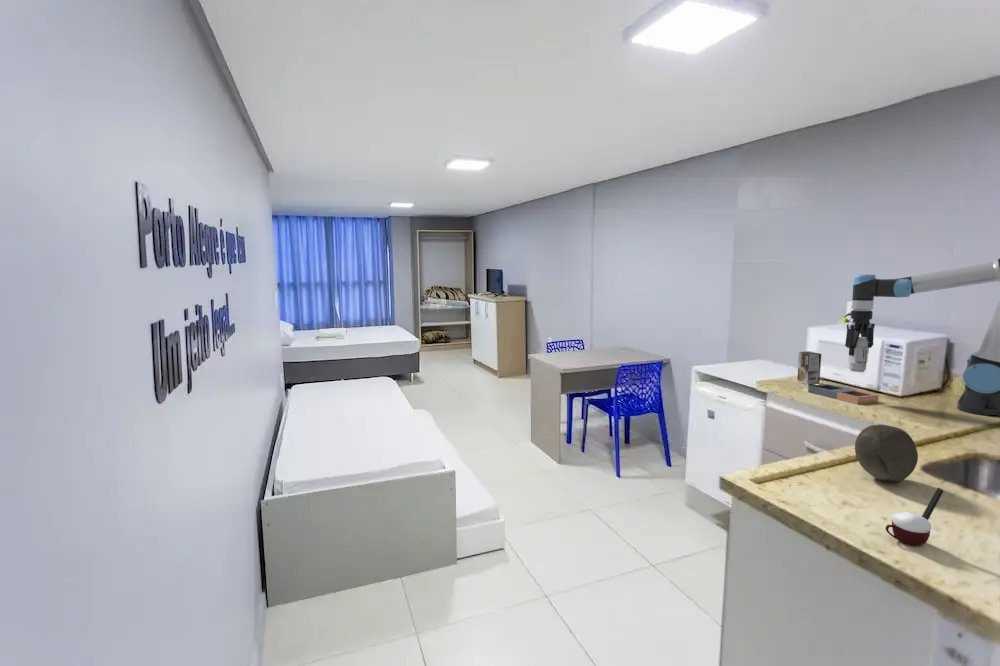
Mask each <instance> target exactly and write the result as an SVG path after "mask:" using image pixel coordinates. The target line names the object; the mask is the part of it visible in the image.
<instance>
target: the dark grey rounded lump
mask: <svg viewBox="0 0 1000 666" xmlns="http://www.w3.org/2000/svg"><path fill="white" fill-rule="evenodd" d="M854 452H855V456H856V458H857V460H858V462H859V464H860V466H861V467H862V468H863V470H865V472H867V473H868V474H869V475H870V476H872V477H873V478H875V479H877V480H879V481H882V482H886V483H897V482H901V481H904V480H906V479H907V478H908V477H909V476H911V474H912V472H914V471H915V469H916V468H917V467H916V466H917V465H918V464H917V463H918V459H919V454H918V450H917V447H916V443H915V441H914V439H913V438H912V437H911V436H910V435H909V433H908V432H906V431H905V430H903V429H902V428H899V427H896V426H892V425H887V424H872V425H871V424H870V425H868V426H867V427H865V428H864V429H862V430H861V431H860V433H858V435H857V437H856V439H855V443H854Z"/></svg>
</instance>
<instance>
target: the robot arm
mask: <svg viewBox="0 0 1000 666" xmlns="http://www.w3.org/2000/svg"><path fill="white" fill-rule="evenodd" d="M994 282H999V283H1000V258H996V259H995V260H994V261H992V262H987V263H982V264H975V265H970V266H964V267H959V268H952V269H951V268H950V269H947V270H946V269H945V270H941V271H940V270H939V271H935V272H928V273H923V274H918V275H912V276H906V277H899V278H885V279H884V278H882V279H880V278H877V277H876V275H875V274H856V275H855V276H854V278H853V284H852V299H851V301H852V303H851V309H852V310H851V311H850V312H851V313H850V319H852V322H851V323H850V324H849V323H847V324H846V336H845V337H846V338H845V343H844V344H845V345H844V346H845V348H848V363H856V355H857V349H856V344H857V341H858V338H859V337H866V338H867V340H868V350H867V361H868V358H869V357H868V356H869V350H870V349H871V348H872V347H873V346H874V331H875V330H874V329H875V326H876V324H875V323H871V321H870V320H872V319H873V314H874V313H873V311H872V310H874V302H875V301H874V298H875V297H876V298H879V297H881V298H882V297H884V298H899V299H900V298H908V297H910V296H911V295H913V294H919V293H925V292H926V293H927V292H933V291H940V290H946V289H954V288H960V287H968V286H973V285H981V284H988V283H994ZM966 362H967V363H966V368H965V370H964V371H963V373H962V380H963V382H964V390H963V392H962V394H961V396H960V397H959V399H958V401H957V405H956V408H957V409H958V410H960V411H962V412H965V413H970V414H974V413H975V415H980V414H984V415H983V416H989V415H1000V298H999V300H998V302H997V304H996V307H995V309H994V312H993V314H992V317H991V319H990V322H989V325H988V327H987V330H986V332H985V334H984V338H983V339H982V342H981V345H980V347H979V349H978V350H977V351H974V352H972V353H971V354H969V355H968V356H967V358H966Z"/></svg>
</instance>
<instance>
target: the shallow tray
mask: <svg viewBox="0 0 1000 666" xmlns="http://www.w3.org/2000/svg"><path fill="white" fill-rule="evenodd" d="M807 386H808V387H807V392H808V393H809V394H810V393H811V394H815V395H819V396H823V397H826V398H829V399H830V398H831V399H834V400H835V399H836V400H838V401H842V402H847V403H850V404H854V405H863V404H864V405H865V404H872V403H871V402H874V403H879V396H880V395H878V394H875V393H870V392H865V391H860V390H856V389H853V388H847V387H843V386H839V385H834V384H829V383H825V384H823V383H822V384H819V385H807Z"/></svg>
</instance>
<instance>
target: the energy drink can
mask: <svg viewBox="0 0 1000 666" xmlns="http://www.w3.org/2000/svg"><path fill="white" fill-rule="evenodd" d="M856 349H857V355H856V363H849V362H848V363H849V364H848V366H849V367H848V369H849V370H850V371H851V372H857V373H864V372H865V371H866V370H867V363H868V360H867V350H868V340H867V338H866V337H861V336H859V338H858V341H857V344H856Z"/></svg>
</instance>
